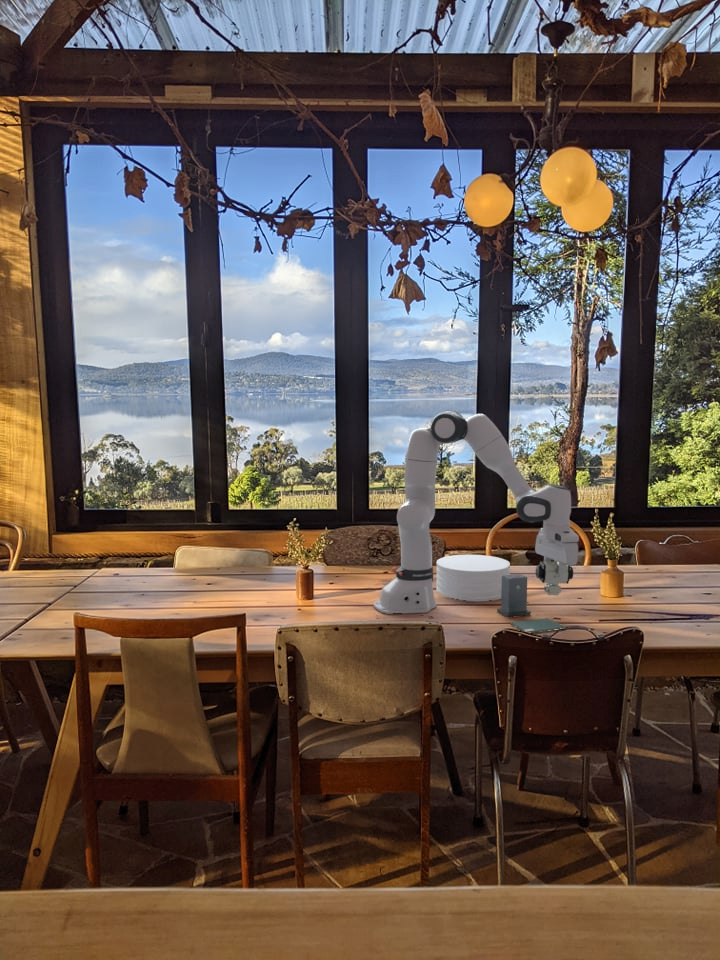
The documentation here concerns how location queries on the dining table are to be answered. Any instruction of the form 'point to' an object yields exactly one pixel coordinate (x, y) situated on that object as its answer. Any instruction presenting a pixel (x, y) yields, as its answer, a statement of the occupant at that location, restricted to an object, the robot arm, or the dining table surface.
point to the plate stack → (471, 577)
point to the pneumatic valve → (553, 576)
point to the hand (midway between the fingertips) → (554, 572)
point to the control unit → (514, 596)
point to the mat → (537, 625)
